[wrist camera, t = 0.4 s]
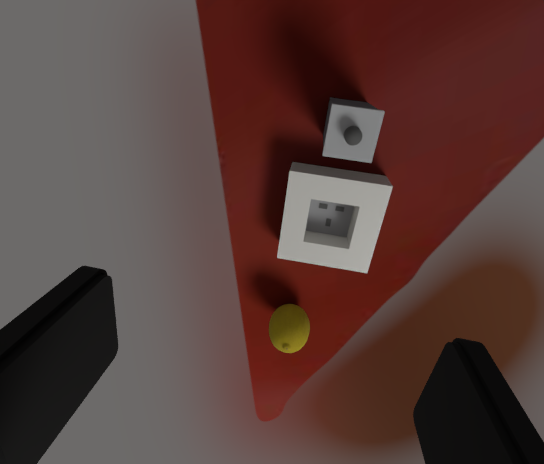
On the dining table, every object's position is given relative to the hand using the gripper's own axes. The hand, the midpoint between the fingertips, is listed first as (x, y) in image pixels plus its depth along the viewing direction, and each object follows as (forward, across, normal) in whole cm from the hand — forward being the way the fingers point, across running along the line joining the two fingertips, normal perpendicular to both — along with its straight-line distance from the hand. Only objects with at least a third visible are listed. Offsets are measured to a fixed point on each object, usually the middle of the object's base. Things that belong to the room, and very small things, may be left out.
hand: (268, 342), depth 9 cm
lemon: (+32, -2, +24) cm, 40 cm away
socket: (+32, -4, +8) cm, 33 cm away
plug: (+32, -4, -3) cm, 32 cm away
